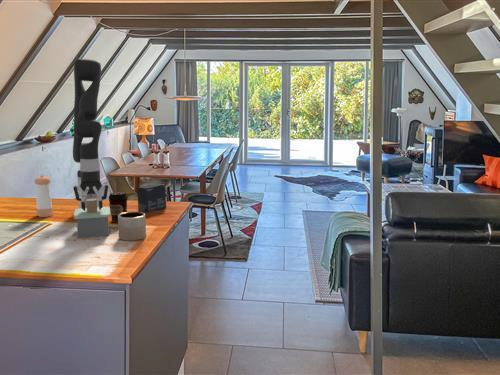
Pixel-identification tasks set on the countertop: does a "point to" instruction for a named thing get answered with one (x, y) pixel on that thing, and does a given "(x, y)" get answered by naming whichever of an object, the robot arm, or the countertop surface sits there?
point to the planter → (131, 226)
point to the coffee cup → (117, 204)
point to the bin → (92, 227)
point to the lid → (92, 211)
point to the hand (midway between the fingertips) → (92, 209)
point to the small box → (151, 197)
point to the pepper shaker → (43, 197)
